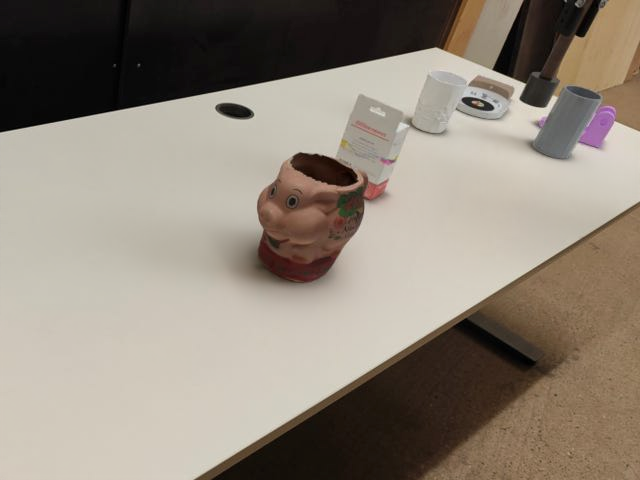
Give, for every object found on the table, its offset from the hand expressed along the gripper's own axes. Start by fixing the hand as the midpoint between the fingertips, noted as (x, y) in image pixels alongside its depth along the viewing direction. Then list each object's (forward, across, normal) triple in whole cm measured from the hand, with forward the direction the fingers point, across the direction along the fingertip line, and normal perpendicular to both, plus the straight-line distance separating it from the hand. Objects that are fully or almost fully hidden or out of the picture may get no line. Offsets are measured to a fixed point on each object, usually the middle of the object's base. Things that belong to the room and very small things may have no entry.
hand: (568, 33), depth 101 cm
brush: (+11, 0, 0) cm, 11 cm away
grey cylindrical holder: (+27, +28, +16) cm, 42 cm away
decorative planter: (+27, -46, -17) cm, 56 cm away
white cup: (+27, +5, +26) cm, 38 cm away
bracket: (+27, +40, +24) cm, 54 cm away
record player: (+27, +28, +39) cm, 55 cm away
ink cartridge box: (+27, -26, +2) cm, 37 cm away
